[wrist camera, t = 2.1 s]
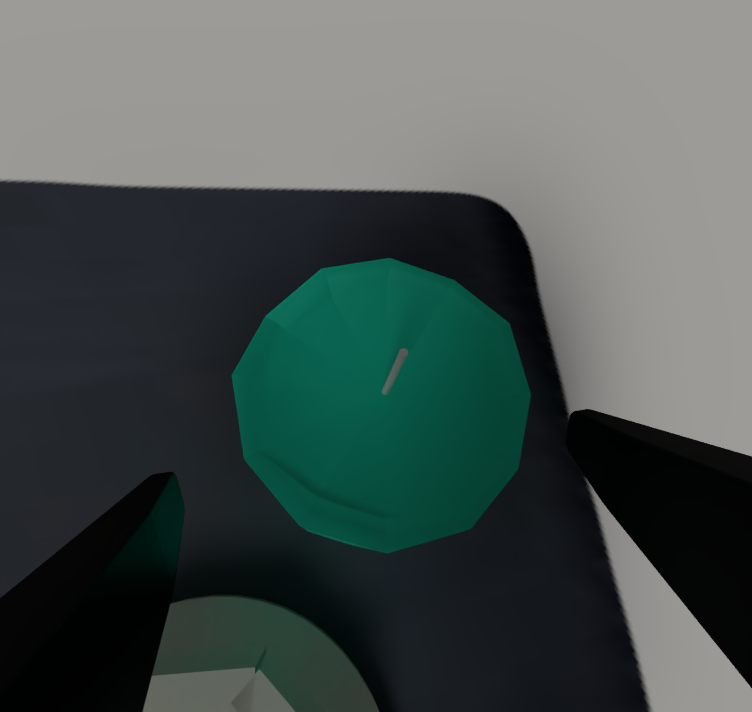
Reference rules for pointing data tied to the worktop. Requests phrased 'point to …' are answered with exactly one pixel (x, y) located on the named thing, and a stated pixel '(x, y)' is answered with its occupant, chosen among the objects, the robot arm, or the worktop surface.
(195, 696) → the candle dish
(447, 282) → the candle
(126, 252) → the worktop surface
